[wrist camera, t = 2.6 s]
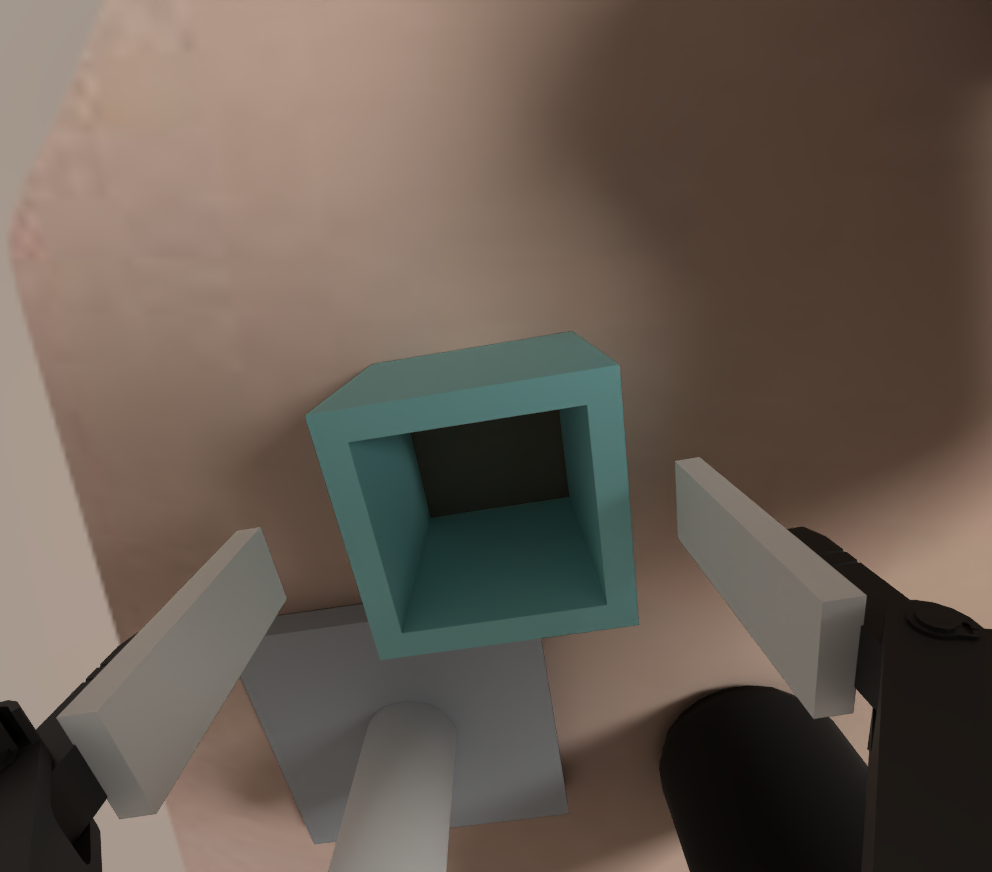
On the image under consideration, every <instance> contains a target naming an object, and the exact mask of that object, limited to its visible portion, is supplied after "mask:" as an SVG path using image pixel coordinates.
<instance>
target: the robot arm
mask: <svg viewBox="0 0 992 872" xmlns="http://www.w3.org/2000/svg"><path fill="white" fill-rule="evenodd" d="M675 479H676V504H677V529H678V539H679V540H680V542H681V543H682V544H683V546H684V547H685V548H686V550H687V551H688V552H689V554H690V555H691V556H692V558H693V559H694V560H695V562H696V563H697V564H698V566H699V567H700V568H701V570H702V571H703V572H704V574H705V575H706V576H707V578H708V579H709V580H710V582H711V583H712V584H713V586H714V587H715V588H716V590H717V591H718V592H719V594H720V595H721V596H722V598H723V599H724V600H725V602H726V603H727V604H728V606H729V607H730V608H731V610H732V611H733V612H734V614H735V615H736V616H737V618H738V619H739V620H740V622H741V623H742V624H743V626H744V627H745V628H746V630H747V631H748V632H749V634H750V635H751V636H752V638H753V639H754V640H755V642H756V643H757V644H758V646H759V647H760V648H761V650H762V651H763V652H764V654H765V655H766V656H767V658H768V659H769V660H770V662H771V663H772V664H773V666H774V667H775V668H776V670H777V671H778V672H779V674H780V675H781V676H782V678H783V679H784V680H785V682H786V683H787V684H788V686H789V687H790V688H791V690H792V691H793V692H794V694H795V695H796V696H797V698H798V699H799V700H800V702H801V703H802V704H803V706H804V707H805V708H806V710H807V711H808V712H809V714H810V715H811V716H812V718H813V719H817V718H823V717H830V716H837V715H844V714H851V713H853V712H854V703H855V694H856V689H857V690H858V691H859V693H860V694H861V695H862V696H863V697H864V698H865V699H866V700H867V701H868V702H869V704H870V705H871V706H872V707H873V711H872V718H871V726H870V733H869V741H868V748H867V750H869V762H868V777H867V793H866V808H865V823H864V838H863V853H862V869H861V872H992V629H984V628H983V627H981V626H980V625H979V624H978V623H976V622H975V621H974V620H973V619H971V618H970V617H968V616H966V615H964V614H962V613H960V612H958V611H956V610H954V609H952V608H949V607H946V606H943V605H940V604H936V603H933V602H926V601H919V600H909V599H908V598H907V597H905V596H904V595H903V594H901V593H900V592H899V591H897V590H896V589H895V588H893V587H892V586H891V585H890V584H888V583H887V582H886V581H884V580H883V579H882V578H880V577H879V576H878V575H876V574H875V573H874V572H872V571H871V570H870V569H868V568H867V567H866V566H864V565H863V564H862V563H858V562H857V560H856V559H855V558H854V557H852V556H851V555H850V554H848V553H847V552H843V549H842V548H840V547H839V546H838V545H837V544H835V543H834V542H833V541H831V540H830V539H829V538H827V537H826V536H824V535H821V534H819V533H817V532H814V531H812V530H810V529H807V528H805V527H797V528H790V529H786V528H785V527H783V526H782V525H781V524H780V523H779V522H777V521H776V520H775V519H774V518H773V517H771V516H770V515H769V514H768V513H767V512H765V511H764V510H763V509H762V508H761V507H759V506H758V505H757V504H756V503H755V502H753V501H752V500H751V499H750V498H748V497H747V496H746V495H745V494H744V493H742V492H741V491H740V490H739V489H738V488H736V487H735V486H734V485H733V484H732V483H730V482H729V481H728V480H727V479H726V478H724V477H723V476H722V475H721V474H719V473H718V472H717V471H716V470H715V469H713V468H712V467H711V466H710V465H709V464H707V463H706V462H705V461H704V460H703V459H701V458H700V457H696V458H690V459H684V460H677V461H675ZM286 599H287V598H286V595H285V592H284V590H283V587H282V584H281V581H280V579H279V576H278V573H277V571H276V568H275V565H274V562H273V560H272V557H271V554H270V552H269V549H268V546H267V543H266V541H265V538H264V535H263V533H262V530H261V527H257V528H251V529H244V530H238V531H236V532H235V533H234V534H233V535H232V536H231V537H230V538H229V539H228V540H227V541H226V542H225V543H224V544H223V545H222V547H221V548H220V549H219V550H218V551H217V552H216V553H215V554H214V555H213V556H212V557H211V558H210V559H209V560H208V561H207V562H206V563H205V564H204V565H203V566H202V567H201V568H200V569H199V570H198V571H197V572H196V573H195V574H194V575H193V577H192V578H191V579H190V580H189V581H188V582H187V583H186V584H185V585H184V586H183V587H182V588H181V589H180V590H179V591H178V592H177V593H176V594H175V595H174V596H173V597H172V598H171V599H170V600H169V601H168V602H167V603H166V604H165V606H164V607H163V608H162V609H161V610H160V611H159V612H158V613H157V614H156V615H155V616H154V617H153V618H152V619H151V620H150V621H149V622H148V623H147V624H146V625H145V626H144V627H143V628H142V629H141V630H140V631H139V632H138V633H136V634H135V635H133V636H132V637H131V638H129V639H128V640H126V641H125V642H124V643H122V644H121V645H119V646H118V647H117V648H116V649H115V650H114V651H113V652H112V653H111V654H110V655H109V656H108V657H107V658H106V659H105V660H104V661H103V662H102V663H101V666H100V668H96V669H95V670H94V671H93V672H92V673H91V674H90V675H89V676H88V678H87V679H86V682H85V683H82V684H81V685H80V686H79V687H78V688H77V689H76V690H75V691H74V692H73V693H72V694H71V695H70V696H69V697H68V698H67V699H66V700H65V701H64V702H63V703H62V704H61V705H60V706H59V707H58V708H57V709H56V710H55V711H54V712H53V713H52V714H51V715H50V716H49V717H48V718H47V719H46V720H45V721H44V722H43V723H42V724H41V725H40V726H39V727H38V728H37V729H36V730H35V728H34V727H33V725H32V724H31V722H30V720H29V719H28V717H27V716H26V715H25V713H24V711H23V710H22V708H21V707H20V705H19V704H18V702H16V701H9V700H7V701H3V702H0V872H102V859H101V838H100V830H99V828H98V826H97V824H96V822H95V821H94V819H93V817H94V816H95V814H96V813H97V811H98V810H99V809H100V807H101V806H102V804H103V803H104V802H105V800H106V799H107V800H108V802H109V803H110V805H111V806H112V808H113V810H114V811H115V813H116V814H117V816H118V817H119V819H124V818H130V817H138V816H145V815H152V814H156V813H157V812H158V810H159V809H160V807H161V805H162V804H163V802H164V801H165V799H166V797H167V796H168V794H169V792H170V791H171V789H172V787H173V786H174V784H175V782H176V781H177V779H178V777H179V776H180V774H181V772H182V771H183V769H184V768H185V766H186V764H187V763H188V761H189V759H190V758H191V756H192V754H193V753H194V751H195V749H196V748H197V746H198V744H199V743H200V741H201V739H202V738H203V736H204V735H205V733H206V731H207V730H208V728H209V726H210V725H211V723H212V721H213V720H214V718H215V716H216V715H217V713H218V711H219V710H220V708H221V707H222V705H223V703H224V702H225V700H226V698H227V697H228V695H229V693H230V692H231V690H232V688H233V687H234V685H235V683H236V682H237V680H238V678H239V677H240V675H241V674H242V672H243V670H244V669H245V667H246V665H247V664H248V662H249V660H250V659H251V657H252V655H253V654H254V652H255V650H256V649H257V647H258V646H259V644H260V642H261V641H262V639H263V637H264V636H265V634H266V632H267V631H268V629H269V627H270V626H271V624H272V622H273V621H274V619H275V617H276V616H277V614H278V613H279V611H280V609H281V608H282V606H283V604H284V603H285V601H286Z"/></svg>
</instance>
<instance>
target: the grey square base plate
mask: <svg viewBox="0 0 992 872" xmlns="http://www.w3.org/2000/svg"><path fill="white" fill-rule="evenodd" d="M240 677H241V679H242V682H243V684H244V686H245V688H246V691H247V693H248V695H249V698H250V700H251V702H252V704H253V707H254V709H255V711H256V713H257V716H258V718H259V720H260V723H261V725H262V727H263V729H264V732H265V734H266V736H267V738H268V741H269V743H270V745H271V748H272V750H273V752H274V754H275V757H276V759H277V761H278V763H279V766H280V768H281V770H282V773H283V775H284V777H285V779H286V782H287V784H288V786H289V788H290V791H291V793H292V795H293V798H294V800H295V802H296V804H297V807H298V809H299V811H300V813H301V816H302V818H303V820H304V823H305V825H306V827H307V829H308V832H309V834H310V836H311V838H312V841H313V843H314V844H321V843H329V842H336V845H335V849H334V852H333V856H332V860H331V863H330V867H329V871H328V872H446V868H447V855H448V842H449V828H454V827H463V826H471V825H479V824H488V823H496V822H504V821H513V820H521V819H529V818H538V817H546V816H554V815H563V814H569V810H568V803H567V796H566V789H565V783H564V777H563V770H562V764H561V758H560V752H559V746H558V739H557V733H556V727H555V721H554V715H553V709H552V702H551V696H550V690H549V684H548V678H547V672H546V665H545V659H544V653H543V647H542V641H541V638H540V639H532V640H525V641H518V642H510V643H503V644H496V645H488V646H481V647H474V648H466V649H459V650H452V651H444V652H437V653H430V654H422V655H415V656H408V657H400V658H393V659H386V660H380V658H379V655H378V651H377V648H376V645H375V642H374V638H373V635H372V632H371V629H370V625H369V622H368V619H367V616H366V612H365V609H364V606H363V604H358V605H351V606H344V607H337V608H329V609H322V610H315V611H308V612H301V613H294V614H287V615H280V616H276V617H275V619H274V621H273V622H272V624H271V626H270V627H269V629H268V631H267V632H266V634H265V636H264V637H263V639H262V641H261V642H260V644H259V646H258V647H257V649H256V650H255V652H254V654H253V655H252V657H251V659H250V660H249V662H248V664H247V665H246V667H245V669H244V670H243V672H242V674H241V675H240Z"/></svg>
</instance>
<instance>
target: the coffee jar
mask: <svg viewBox="0 0 992 872" xmlns="http://www.w3.org/2000/svg"><path fill="white" fill-rule="evenodd" d="M659 770H660V777H661V783H662V789H663V792H664V795H665V798H666V801H667V804H668V807H669V810H670V813H671V816H672V819H673V822H674V825H675V828H676V831H677V834H678V837H679V840H680V843H681V846H682V849H683V852H684V855H685V858H686V861H687V864H688V867H689V870H690V872H861V869H862V853H863V838H864V823H865V808H866V793H867V777H868V766H867V765H866V763H865V762H864V761H863V759H862V758H861V757H860V756H859V754H858V753H857V752H856V750H855V749H854V748H853V746H852V745H851V744H850V742H849V741H848V740H847V738H846V737H845V736H844V735H843V733H842V732H841V731H840V729H839V728H838V727H837V725H836V724H835V723H834V721H833V720H832V719H830V718H829V717H823V718H817V719H813V718H812V716H811V715H810V714H809V712H808V711H807V710H806V708H805V707H804V706H803V704H802V703H801V702H800V700H799V699H798V698H797V697H796V696H795V695H792V694H789V693H787V692H784V691H781V690H778V689H775V688H773V687H758V686H744V687H738V688H733V689H727V690H722V691H720V692H717V693H715V694H713V695H710V696H708V697H706V698H703V699H701V700H699V701H698V702H696V703H695V704H694V705H692V706H691V707H690V708H688V709H687V710H686V711H684V712H683V713H682V714H681V715H680V716H679V717H678V719H677V720H676V721H675V723H674V724H673V725H672V727H671V728H670V729H669V731H668V734H667V737H666V741H665V744H664V747H663V752H662V756H661V759H660V766H659Z"/></svg>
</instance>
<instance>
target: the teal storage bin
mask: <svg viewBox="0 0 992 872" xmlns="http://www.w3.org/2000/svg"><path fill="white" fill-rule="evenodd" d="M558 409H559V415H560V424H561V432H562V440H563V448H564V456H565V465H566V473H567V481H568V489H569V497H566V498H559V499H552V500H545V501H539V502H532V503H525V504H519V505H512V506H505V507H499V508H492V509H485V510H478V511H472V512H465V513H458V514H452V515H445V516H438V517H430V513H429V509H428V504H427V500H426V496H425V491H424V487H423V483H422V479H421V474H420V470H419V466H418V462H417V457H416V453H415V449H414V444H413V440H412V436H411V432H418V431H424V430H430V429H437V428H443V427H450V426H456V425H462V424H469V423H475V422H481V421H488V420H494V419H500V418H507V417H513V416H519V415H526V414H532V413H539V412H545V411H551V410H558ZM305 418H306V421H307V425H308V428H309V431H310V434H311V438H312V441H313V444H314V447H315V451H316V454H317V457H318V460H319V463H320V467H321V470H322V473H323V476H324V480H325V483H326V486H327V489H328V493H329V496H330V499H331V502H332V506H333V509H334V512H335V515H336V519H337V522H338V525H339V528H340V532H341V535H342V538H343V541H344V544H345V548H346V551H347V554H348V557H349V561H350V564H351V567H352V570H353V574H354V577H355V580H356V583H357V587H358V590H359V593H360V596H361V600H362V603H363V606H364V609H365V612H366V616H367V619H368V622H369V625H370V629H371V632H372V635H373V638H374V642H375V645H376V648H377V651H378V655H379V658H380V660H386V659H393V658H400V657H408V656H415V655H422V654H430V653H437V652H444V651H452V650H459V649H466V648H474V647H481V646H488V645H496V644H503V643H510V642H518V641H525V640H532V639H540V638H547V637H554V636H562V635H569V634H576V633H584V632H591V631H598V630H606V629H613V628H620V627H628V626H635V625H639V617H638V604H637V591H636V577H635V564H634V551H633V537H632V524H631V511H630V497H629V484H628V471H627V458H626V444H625V431H624V418H623V404H622V391H621V378H620V365H619V364H618V363H616V362H615V361H614V360H612V359H611V358H609V357H608V356H607V355H605V354H604V353H602V352H601V351H599V350H598V349H597V348H595V347H594V346H592V345H591V344H590V343H588V342H587V341H585V340H584V339H583V338H581V337H580V336H578V335H577V334H576V333H574V332H573V331H570V332H564V333H558V334H552V335H546V336H540V337H534V338H528V339H521V340H515V341H509V342H503V343H497V344H491V345H485V346H479V347H473V348H467V349H461V350H455V351H448V352H442V353H436V354H430V355H424V356H418V357H412V358H406V359H400V360H394V361H388V362H382V363H375V364H371V365H370V366H369V367H367V368H366V369H365V370H364V371H362V372H361V373H360V374H358V375H357V376H356V377H354V378H353V379H352V380H350V381H349V382H348V383H346V384H345V385H344V386H343V387H341V388H340V389H339V390H337V391H336V392H335V393H333V394H332V395H331V396H329V397H328V398H327V399H325V400H324V401H323V402H322V403H320V404H319V405H318V406H316V407H315V408H314V409H312V410H311V411H310V412H308V413H307V414H306V415H305Z"/></svg>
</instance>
